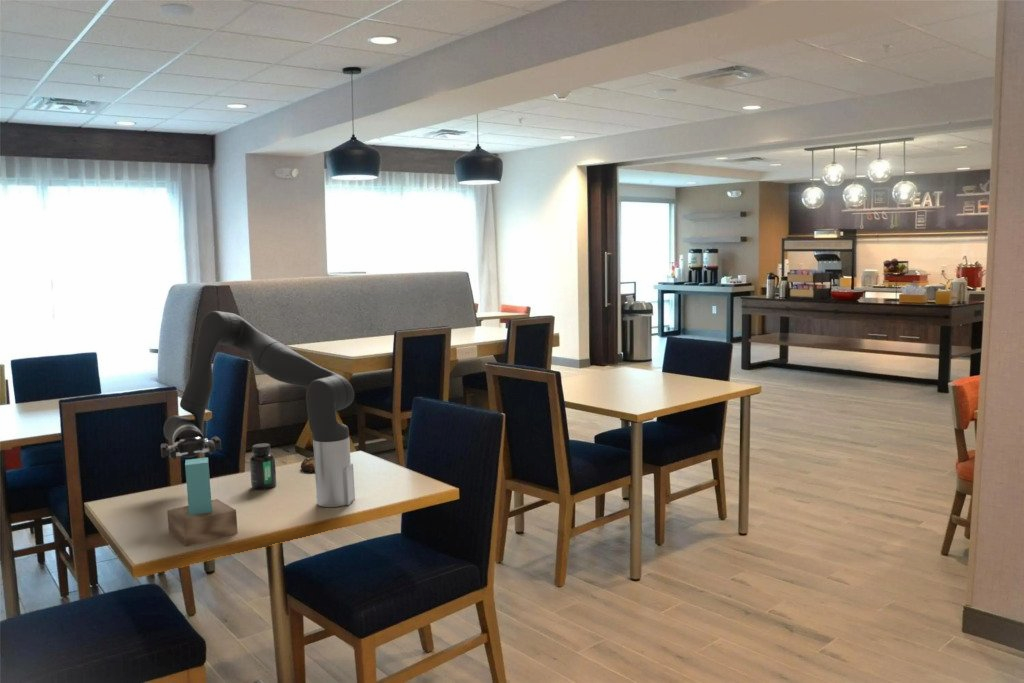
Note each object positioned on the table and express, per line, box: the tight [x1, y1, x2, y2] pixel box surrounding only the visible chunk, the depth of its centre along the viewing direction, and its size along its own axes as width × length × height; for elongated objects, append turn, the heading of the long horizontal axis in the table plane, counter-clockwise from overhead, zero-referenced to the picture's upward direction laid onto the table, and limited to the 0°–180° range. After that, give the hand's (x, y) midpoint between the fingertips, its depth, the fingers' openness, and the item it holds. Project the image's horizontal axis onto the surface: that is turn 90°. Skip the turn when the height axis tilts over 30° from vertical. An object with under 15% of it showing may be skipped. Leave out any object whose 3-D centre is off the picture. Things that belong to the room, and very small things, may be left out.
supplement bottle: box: [249, 442, 277, 491], centre depth 227 cm, size 7×7×12 cm
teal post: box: [184, 456, 212, 515], centre depth 189 cm, size 5×5×12 cm
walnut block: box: [166, 498, 239, 547], centre depth 191 cm, size 12×12×6 cm
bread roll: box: [300, 454, 315, 474], centre depth 246 cm, size 11×11×5 cm
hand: (193, 452), depth 199 cm, fingers open, 8 cm apart
